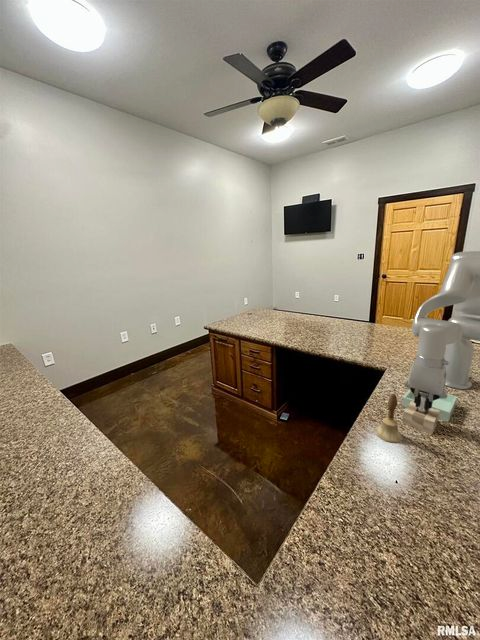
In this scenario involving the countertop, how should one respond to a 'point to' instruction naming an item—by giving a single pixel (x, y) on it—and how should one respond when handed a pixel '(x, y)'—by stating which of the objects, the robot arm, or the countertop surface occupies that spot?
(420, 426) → the hitch block
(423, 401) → the steel pin
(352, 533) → the countertop surface
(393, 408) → the hand bell
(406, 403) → the tray
